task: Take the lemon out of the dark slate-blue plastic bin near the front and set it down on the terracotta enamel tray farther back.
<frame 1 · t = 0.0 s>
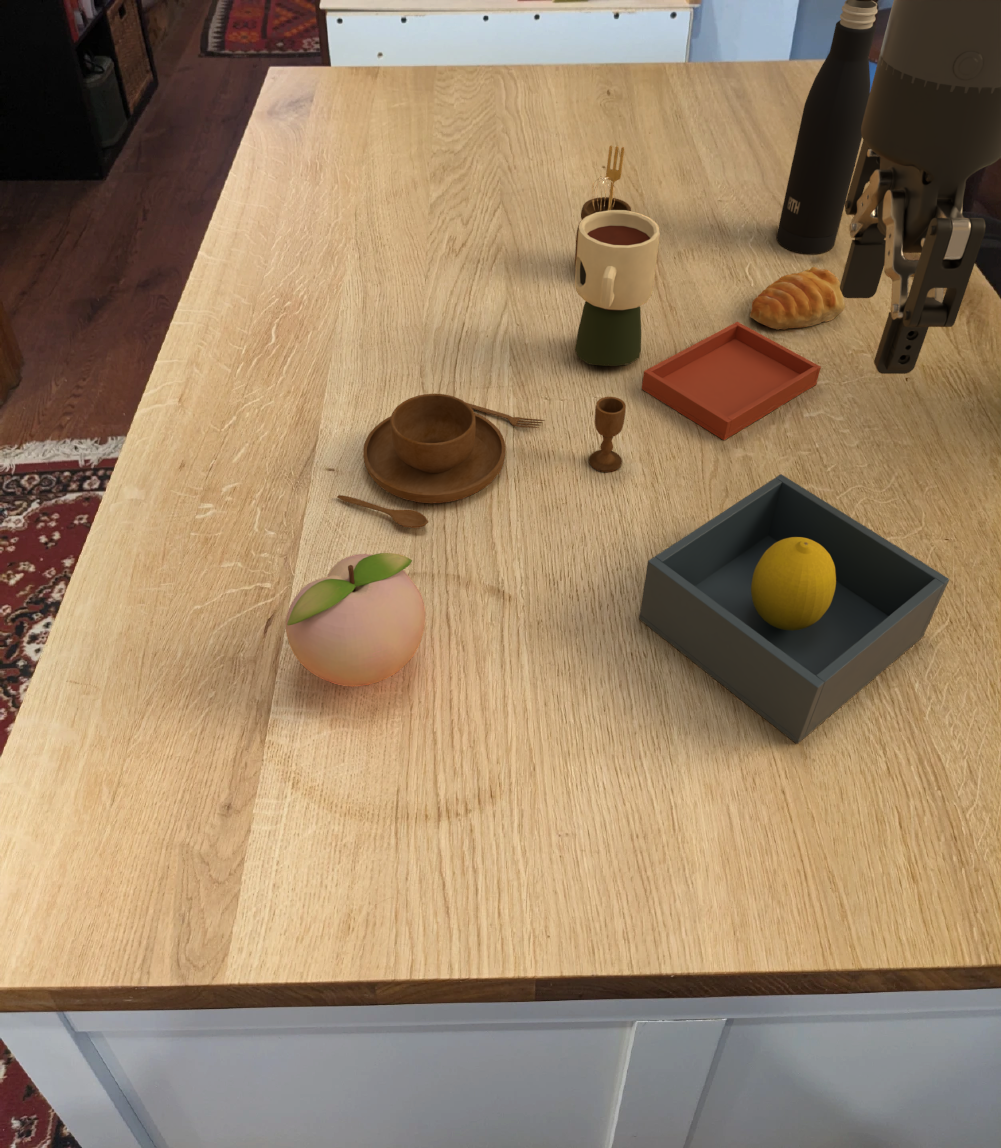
hand: (873, 331, 63), 21 cm above the kitchen island, tool pointing down, fingers open, 8 cm apart
place setting: (478, 478, 85), on the kitchen island
lemon: (780, 625, 73), resting on bin
character mug: (607, 356, 98), on the kitchen island
pastry: (796, 315, 103), on the kitchen island
decorative fruit: (368, 671, 71), on the kitchen island
utensil holder: (601, 271, 109), on the kitchen island
black water bottle: (804, 242, 114), on the kitchen island
tray: (729, 387, 94), on the kitchen island
bin: (779, 627, 73), on the kitchen island
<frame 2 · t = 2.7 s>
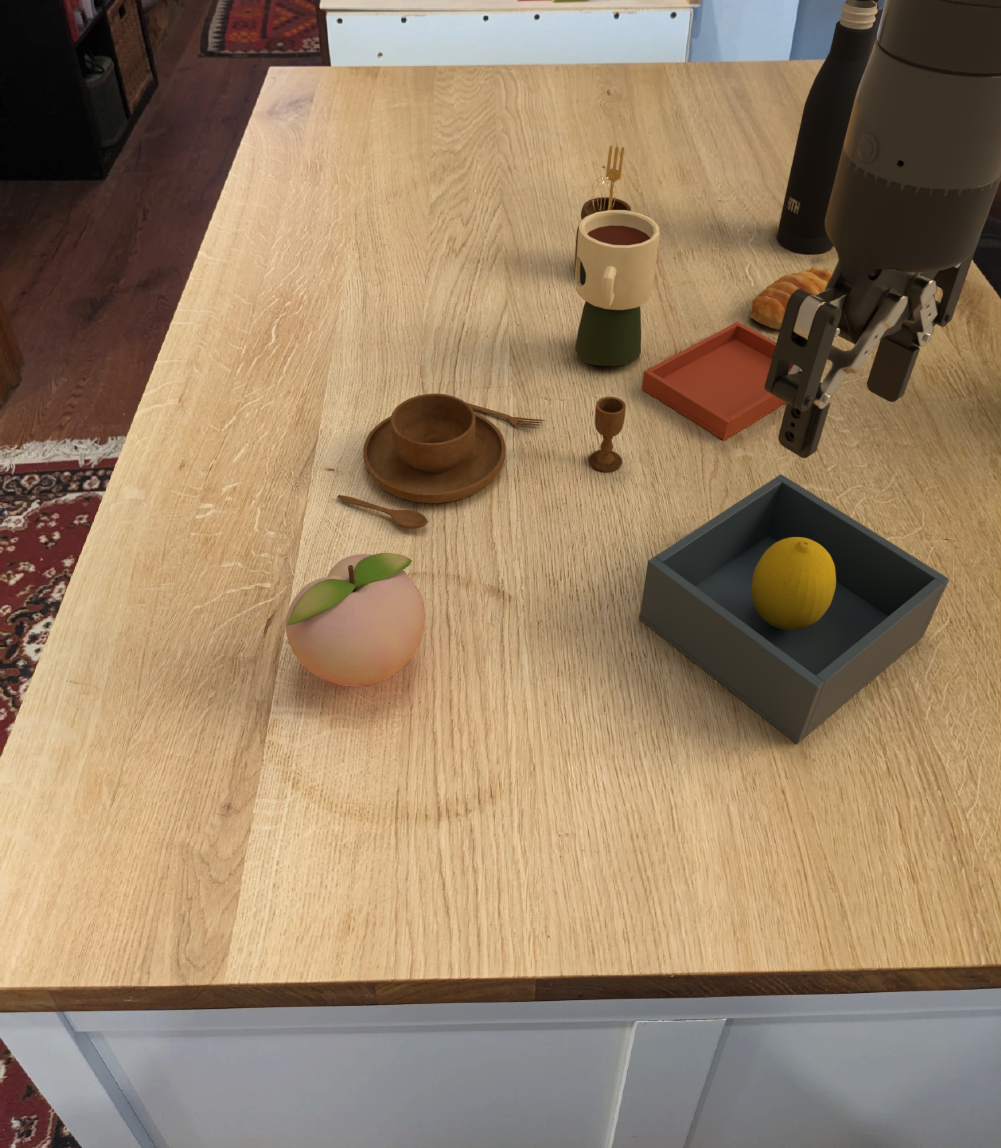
hand: (841, 421, 60), 18 cm above the kitchen island, tool pointing down, fingers open, 8 cm apart
nothing on the kitchen island moved.
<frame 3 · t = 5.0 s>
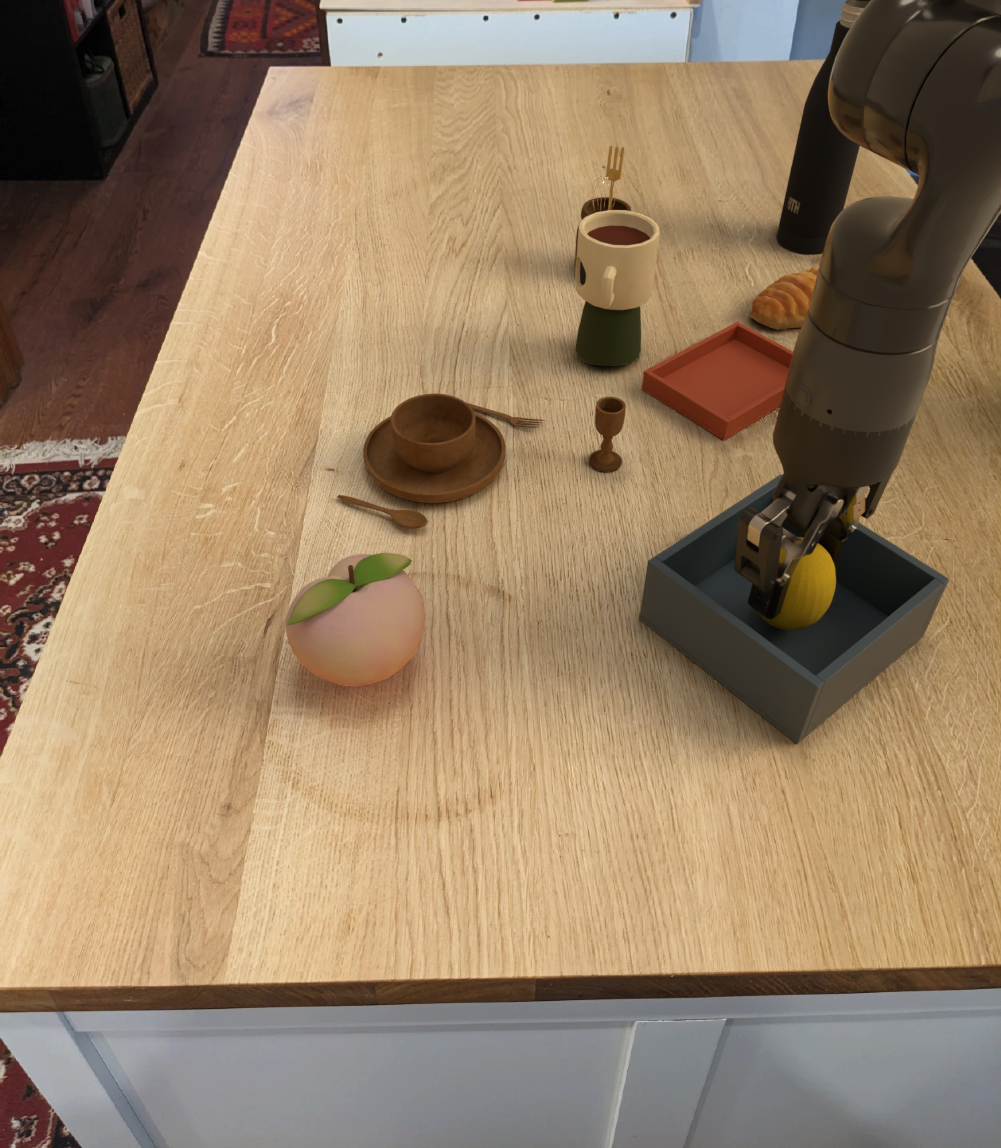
hand: (792, 588, 71), 4 cm above the kitchen island, tool pointing down, fingers closed on lemon, 5 cm apart
lemon: (780, 625, 73), resting on bin, touching gripper
everything else where it was.
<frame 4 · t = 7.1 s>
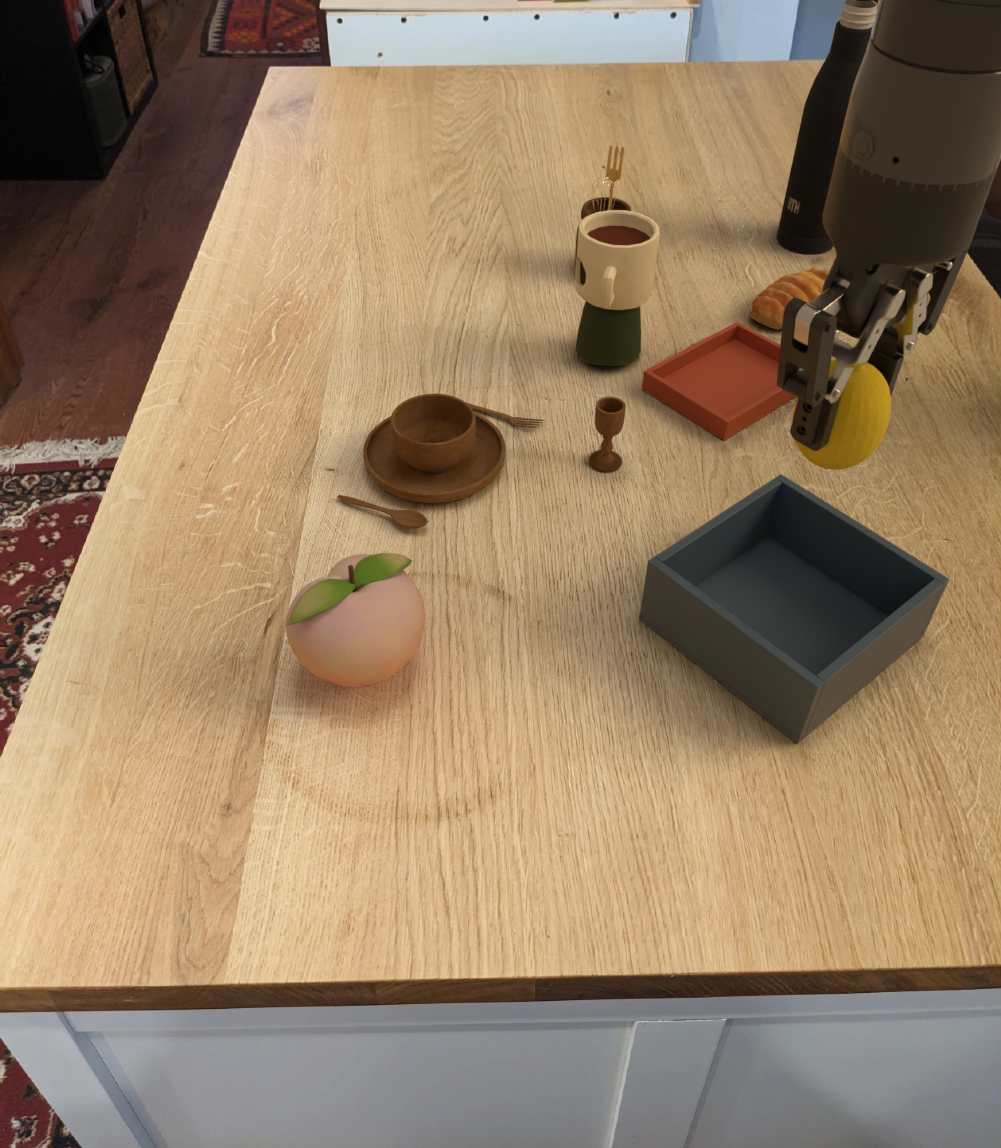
hand: (839, 420, 62), 18 cm above the kitchen island, tool pointing down, fingers closed on lemon, 5 cm apart
lemon: (824, 469, 64), point 14 cm above the kitchen island, touching gripper
everything else where it was.
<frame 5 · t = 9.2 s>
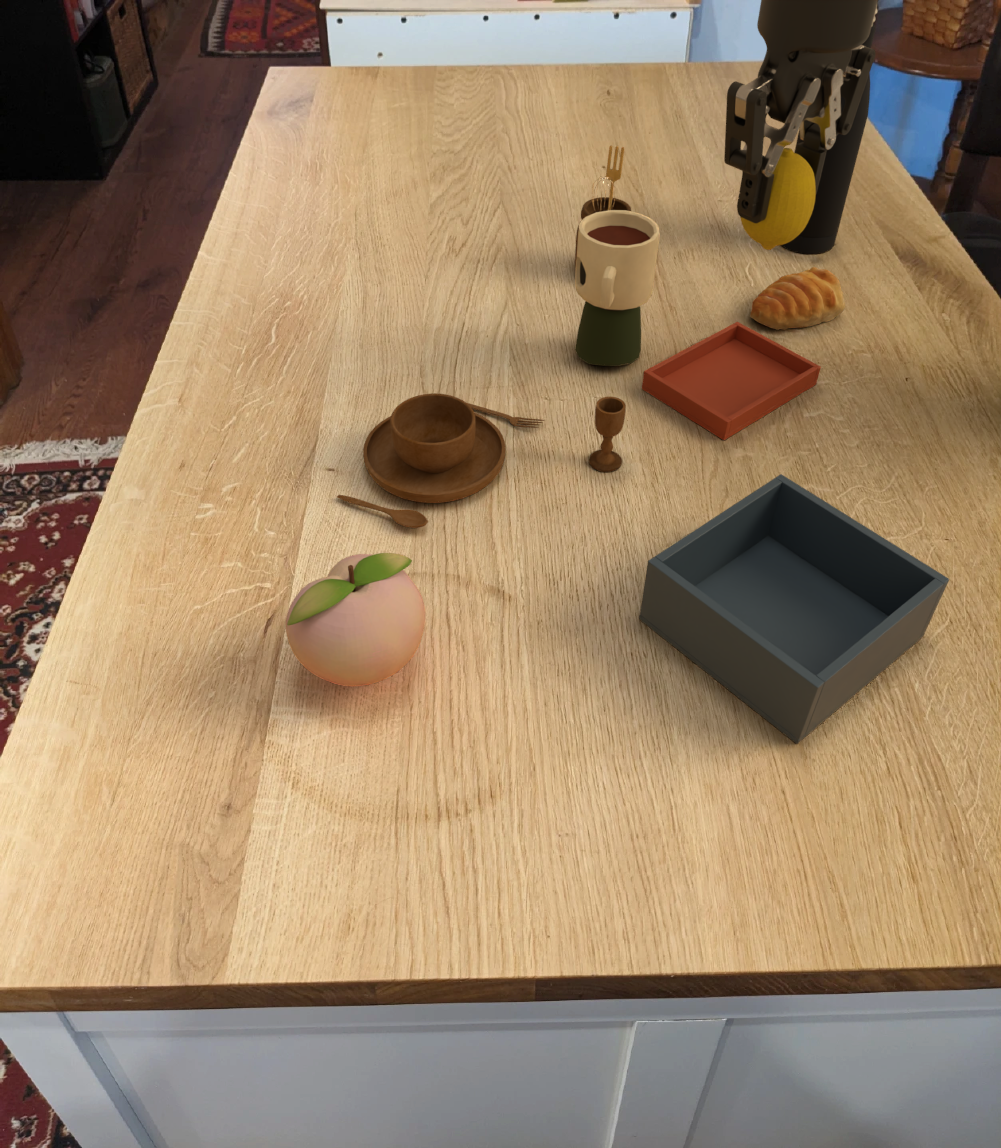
hand: (776, 205, 78), 19 cm above the kitchen island, tool pointing down, fingers closed on lemon, 5 cm apart
lemon: (766, 251, 81), point 15 cm above the kitchen island, touching gripper
everything else where it was.
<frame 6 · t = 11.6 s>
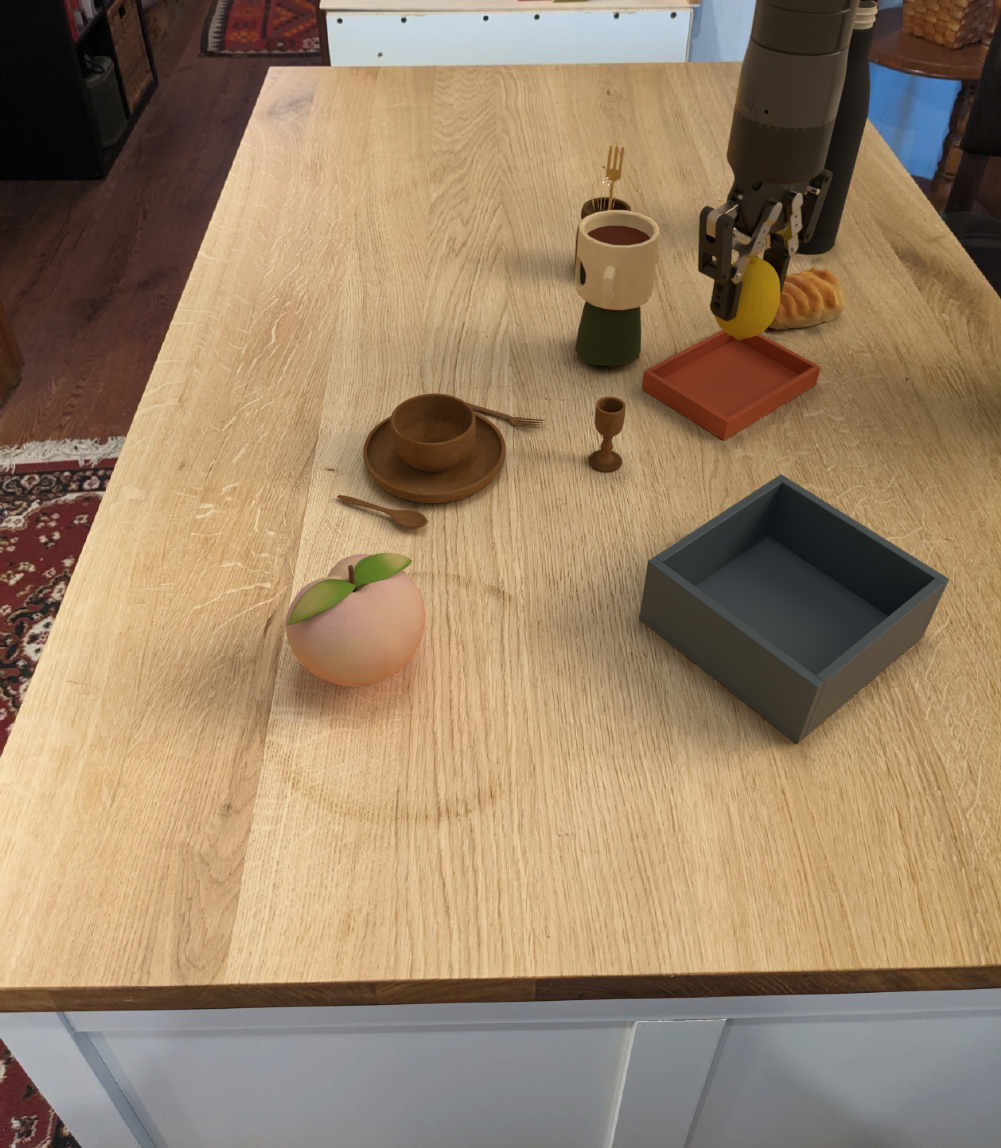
hand: (746, 303, 88), 9 cm above the kitchen island, tool pointing down, fingers closed on lemon, 5 cm apart
lemon: (738, 341, 91), point 5 cm above the kitchen island, touching gripper
everything else where it was.
when the fingers open (4 cm above the kitchen island, at t = 13.3 s): lemon stays where it is, resting on tray.
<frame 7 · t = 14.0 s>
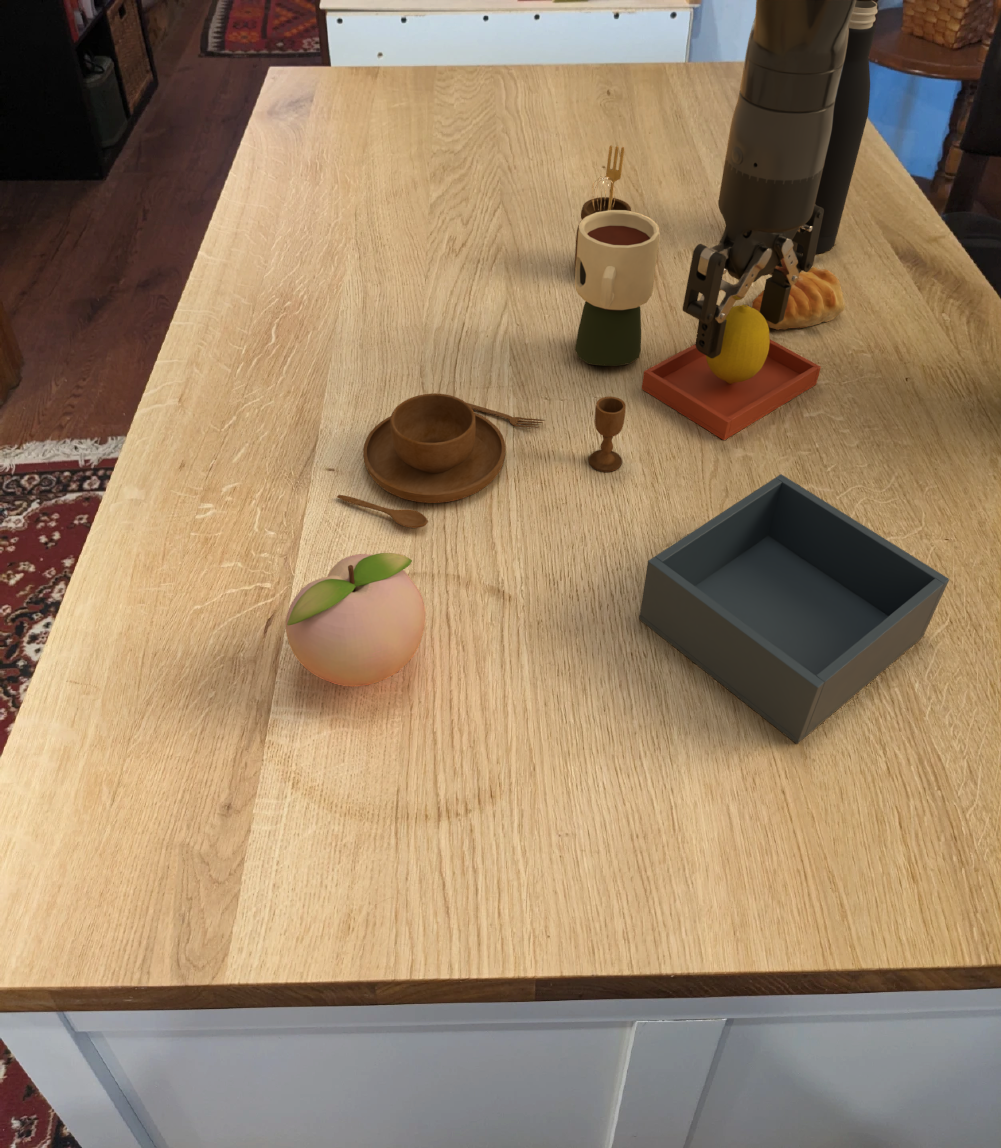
hand: (739, 336, 90), 5 cm above the kitchen island, tool pointing down, fingers open, 8 cm apart
lemon: (729, 384, 94), resting on tray
everything else where it was.
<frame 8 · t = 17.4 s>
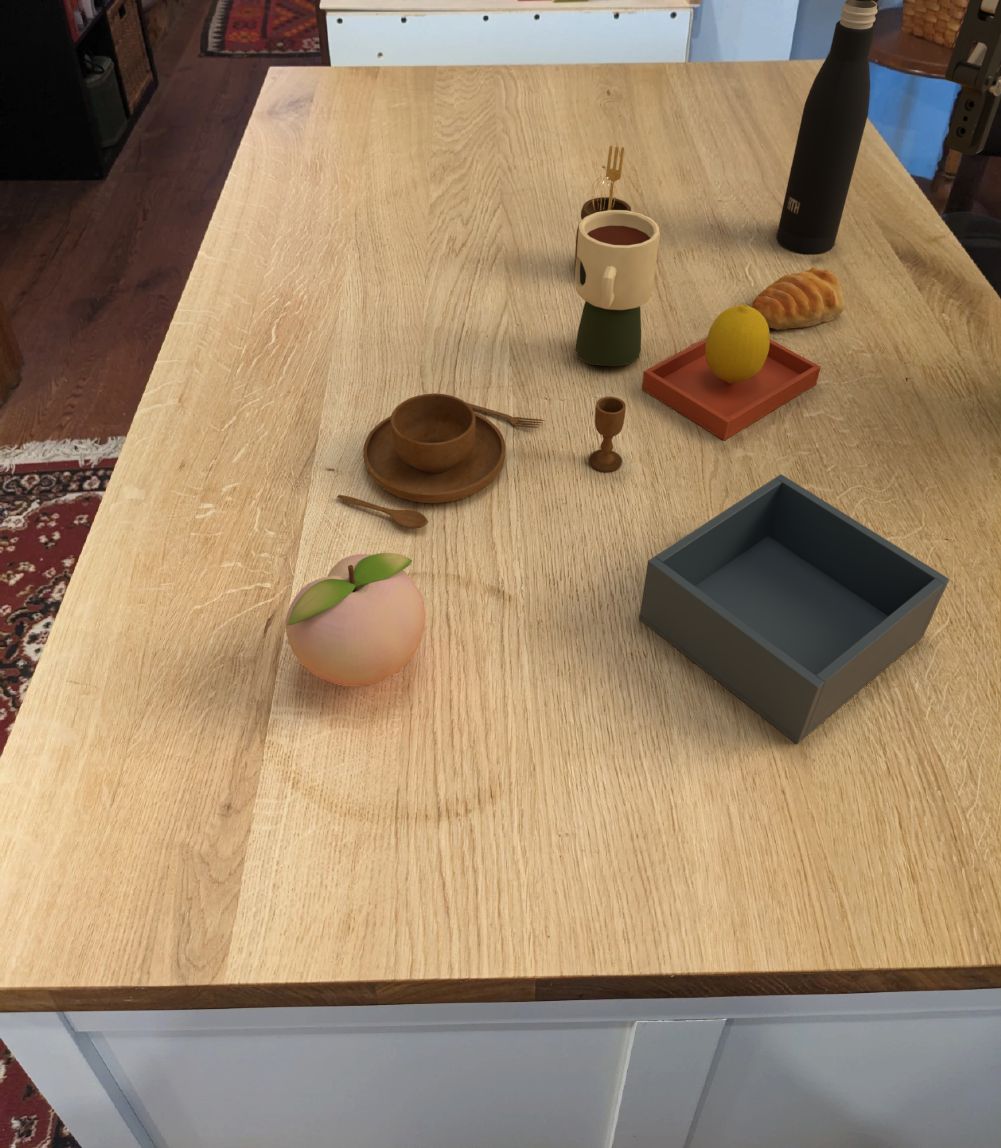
hand: (999, 133, 66), 28 cm above the kitchen island, tool pointing down, fingers open, 8 cm apart
nothing on the kitchen island moved.
at the end: lemon inside the target area in the tray (0.0 cm from its centre), point 0.3 cm above the tray's base; lemon touching tray; the gripper is holding nothing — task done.
